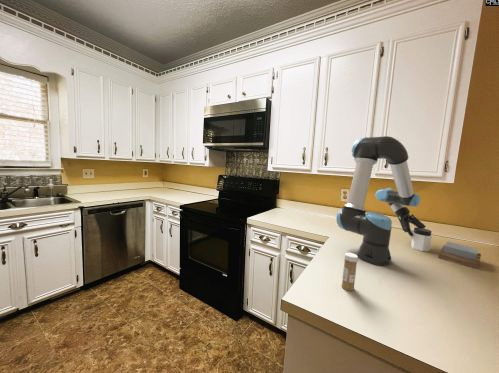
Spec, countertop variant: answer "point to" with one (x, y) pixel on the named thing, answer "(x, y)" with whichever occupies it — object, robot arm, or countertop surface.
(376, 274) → the countertop surface
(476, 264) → the walnut base brick
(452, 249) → the grey top brick
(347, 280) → the sprinkles bottle
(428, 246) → the jar
